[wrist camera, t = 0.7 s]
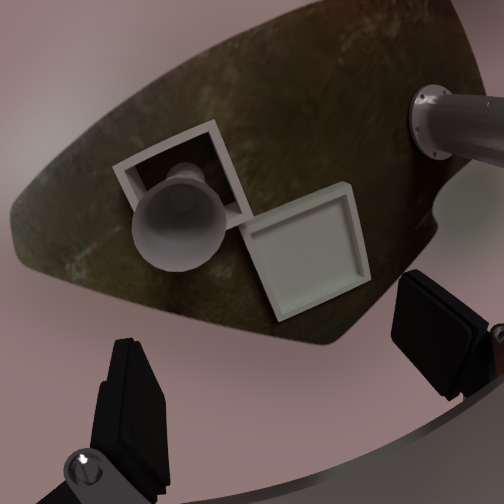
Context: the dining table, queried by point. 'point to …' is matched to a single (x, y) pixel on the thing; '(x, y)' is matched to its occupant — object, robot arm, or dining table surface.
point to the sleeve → (127, 170)
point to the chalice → (179, 221)
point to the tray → (308, 249)
